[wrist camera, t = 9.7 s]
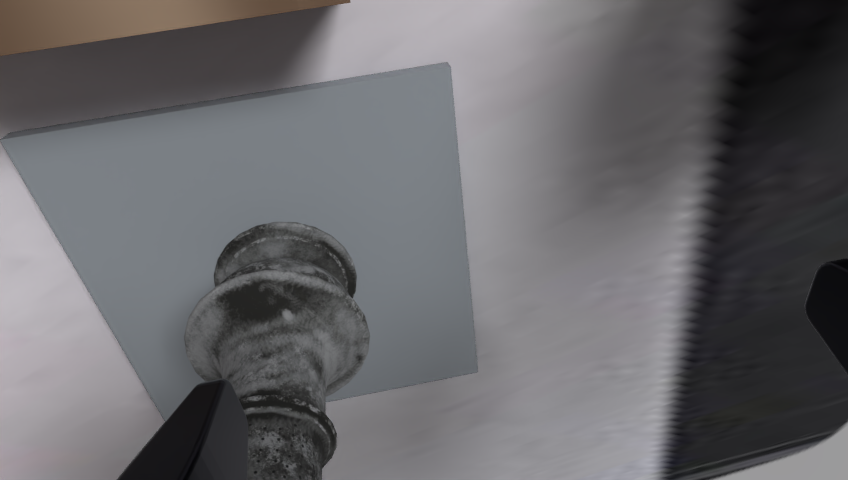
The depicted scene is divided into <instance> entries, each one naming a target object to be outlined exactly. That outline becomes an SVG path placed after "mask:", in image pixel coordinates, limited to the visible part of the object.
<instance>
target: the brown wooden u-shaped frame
mask: <svg viewBox="0 0 848 480" xmlns="http://www.w3.org/2000/svg"><path fill="white" fill-rule="evenodd" d="M344 3H350V0H0V56H3V55H10V54H16V53H23V52H30V51H36V50H43V49H49V48H56V47H62V46H69V45H75V44H82V43H88V42H95V41H102V40H108V39H115V38H121V37H128V36H134V35H141V34H147V33H154V32H161V31H167V30H174V29H180V28H187V27H193V26H200V25H206V24H213V23H219V22H226V21H233V20H239V19H246V18H252V17H259V16H265V15H272V14H278V13H285V12H291V11H298V10H305V9H311V8H318V7H324V6H331V5H337V4H344Z"/></svg>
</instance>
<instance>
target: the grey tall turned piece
mask: <svg viewBox="0 0 848 480" xmlns="http://www.w3.org/2000/svg"><path fill="white" fill-rule="evenodd" d="M214 281H215V288H214V289H212V290H211V291H210V292H209V293H207V294H206V295H205V296H204V297H203V298H201V299H200V300H199V302H198V303H197V305H196V306H195V308H194V310H193V311H192V313H191V314H190V316H189V318H188V321H187V326H186V330H185V335H184V341H185V348H186V354H187V357H188V359H189V361H190V362H191V364H192V366H193V368H194V370H195V372H196V373H197V374H198V375H199V376H200V377H201V378H202V379H203V380H204V381H205V382H207V381H212V380H217V379H227V380H229V381H230V383H231V384H232V386H233V388H234V390H235V392H236V395H237V397H238V399H239V401H240V403H241V406H242V408H243V410H244V412H245V415H246V418H247V423H248V467H247V480H322V468H323V467H324V466H325V465H326V464H327V462H328V461H329V460H330V459H331V458H332V456H333V453H334V451H335V449H336V437H337V433H336V431H335V428H334V426H333V423H332V422H331V420H330V419H329V418H328V417H327V416H326V415H325V402H326V397H327V396H329V395H331V394H333V393H335V392H336V391H338V390H339V389H340V388H342V387H343V386H345V385H346V384H348V383H349V382H350V381H351V380H352V379H353V377H354V376H355V375H356V374H357V373H358V372H359V370H360V369H361V368H362V366H363V364H364V361H365V359H366V357H367V355H368V352H369V340H370V332H369V329H368V325H367V321H366V318H365V315H364V314H363V312H362V311H361V309H360V308H359V306H358V305H357V303H356V302H355V300H354V299H353V297H354V294H355V292H356V281H357V274H356V270H355V266H354V263H353V260H352V258H351V256H350V255H349V253H348V252H347V250H346V249H345V247H344V246H343V245H342V244H341V243H339V242H338V241H337V240H336V239H335V238H334V237H333V236H332V235H330V234H328V233H326V232H324V231H322V230H320V229H318V228H316V227H313V226H309V225H305V224H301V223H298V222H272V223H267V224H262V225H257V226H255V227H253V228H251V229H248V230H246V231H244V232H242V233H240V234H239V235H238V236H236V237H235V238H234V239H233V240H232V241H231V242H229V243H228V244H227V245H226V247H225V248H224V250H223V251H222V253H221V255H220V256H219V258H218V260H217V264H216V268H215V273H214Z"/></svg>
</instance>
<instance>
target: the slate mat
mask: <svg viewBox="0 0 848 480" xmlns="http://www.w3.org/2000/svg"><path fill="white" fill-rule="evenodd" d="M0 141H1V143H2V145H3V147H4V148H5V150H6V152H7V153H8V155H9V157H10V158H11V160H12V162H13V164H14V165H15V167H16V169H17V170H18V172H19V174H20V175H21V177H22V179H23V181H24V182H25V184H26V186H27V187H28V189H29V191H30V192H31V194H32V196H33V198H34V199H35V201H36V203H37V204H38V206H39V208H40V209H41V211H42V213H43V215H44V216H45V218H46V220H47V221H48V223H49V225H50V227H51V228H52V230H53V232H54V233H55V235H56V237H57V238H58V240H59V242H60V244H61V245H62V247H63V249H64V250H65V252H66V254H67V255H68V257H69V259H70V261H71V262H72V264H73V266H74V267H75V269H76V271H77V272H78V274H79V276H80V278H81V279H82V281H83V283H84V284H85V286H86V288H87V289H88V291H89V293H90V295H91V296H92V298H93V300H94V301H95V303H96V305H97V306H98V308H99V310H100V312H101V313H102V315H103V317H104V318H105V320H106V322H107V323H108V325H109V327H110V329H111V330H112V332H113V334H114V335H115V337H116V339H117V340H118V342H119V344H120V346H121V347H122V349H123V351H124V352H125V354H126V356H127V358H128V359H129V361H130V363H131V364H132V366H133V368H134V369H135V371H136V373H137V375H138V376H139V378H140V380H141V381H142V383H143V385H144V386H145V388H146V390H147V392H148V393H149V395H150V397H151V398H152V400H153V402H154V403H155V405H156V407H157V409H158V410H159V412H160V414H161V415H162V417H163V419H164V420H165V421H166V420H167V419H168V418H169V417H170V415H171V414H172V413H173V412H174V411H175V410H176V408H177V407H178V406H179V405H180V404H181V402H182V401H183V400H184V399H185V398H186V396H187V395H188V394H189V393H190V392H191V390H192V389H193V388H194V387H195V386H196V385H198V384H199V383H202V382H205V381H204V380H203V379H202V378H201V377H200V376H199V375H198V374H197V373H196V372H195V370H194V368H193V366H192V364H191V362H190V361H189V359H188V357H187V354H186V348H185V341H184V335H185V330H186V326H187V321H188V318H189V316H190V314H191V313H192V311H193V310H194V308H195V306H196V305H197V303H198V302H199V300H200V299H201V298H203V297H204V296H205V295H206V294H207V293H209V292H210V291H211V290H212V289H214V288H215V281H214V273H215V268H216V264H217V260H218V258H219V256H220V255H221V253H222V251H223V250H224V248H225V247H226V245H227V244H228V243H229V242H231V241H232V240H233V239H234V238H235V237H236V236H238V235H239V234H240V233H242V232H244V231H246V230H248V229H251V228H253V227H255V226H257V225H262V224H267V223H272V222H298V223H301V224H305V225H309V226H313V227H316V228H318V229H320V230H322V231H324V232H326V233H328V234H330V235H332V236H333V237H334V238H335V239H336V240H337V241H338V242H339V243H341V244H342V245H343V246H344V247H345V249H346V250H347V252H348V253H349V255H350V256H351V258H352V260H353V263H354V266H355V270H356V274H357V281H356V292H355V294H354V297H353V299H354V300H355V302H356V303H357V305H358V306H359V308H360V309H361V311H362V312H363V314H364V315H365V318H366V321H367V325H368V329H369V332H370V340H369V352H368V355H367V357H366V359H365V361H364V364H363V366H362V368H361V369H360V370H359V372H358V373H357V374H356V375H355V376H354V377H353V379H352V380H351V381H350V382H349V383H348V384H346V385H345V386H343V387H342V388H340V389H339V390H338V391H336V392H335V393H333V394H331V395H329V396H327V397H326V402H330V401H335V400H340V399H345V398H350V397H356V396H361V395H366V394H371V393H376V392H381V391H386V390H391V389H396V388H401V387H406V386H411V385H416V384H421V383H426V382H431V381H436V380H442V379H447V378H452V377H457V376H462V375H467V374H472V373H477V372H478V366H477V355H476V344H475V332H474V321H473V310H472V299H471V288H470V277H469V266H468V254H467V243H466V232H465V221H464V210H463V199H462V188H461V176H460V165H459V154H458V143H457V132H456V121H455V109H454V98H453V87H452V76H451V67H450V65H449V64H448V63H447V62H446V63H440V64H433V65H427V66H421V67H415V68H409V69H402V70H396V71H390V72H384V73H378V74H371V75H365V76H359V77H353V78H347V79H340V80H334V81H328V82H322V83H316V84H309V85H303V86H297V87H291V88H285V89H278V90H272V91H266V92H260V93H254V94H247V95H241V96H235V97H229V98H223V99H216V100H210V101H204V102H198V103H192V104H185V105H179V106H173V107H167V108H161V109H154V110H148V111H142V112H136V113H130V114H123V115H117V116H111V117H105V118H99V119H92V120H86V121H80V122H74V123H68V124H61V125H55V126H49V127H43V128H37V129H30V130H24V131H18V132H12V133H9V134H7V135H6V136H4V137H3V138H2V139H0Z"/></svg>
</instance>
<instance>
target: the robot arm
mask: <svg viewBox="0 0 848 480" xmlns="http://www.w3.org/2000/svg"><path fill="white" fill-rule="evenodd" d="M805 312H806V315H807V318H808V319H809V321H810V323H811V324H812V325H813V327H814V328H815V330H816V331H817V332H818V334H819V335H820V337H821V338H822V340H823V341H824V342H825V344H826V345H827V347H828V348H829V349H830V351H831V352H832V354H833V355H834V357H835V358H836V359H837V361H838V362H839V364H840V365H841V366H842V368H843V369H844V371H845V372H846V374H847V375H848V259H841V260H836V261H831V262H826V263H824V264H822V265H821V266H820V267H819V268H818V269H817V271H816V274H815V276H814V279H813V282H812V285H811V288H810V291H809V293H808V296H807V299H806V302H805ZM247 467H248V423H247V418H246V415H245V412H244V410H243V408H242V406H241V403H240V401H239V399H238V397H237V395H236V392H235V390H234V388H233V386H232V384H231V383H230V381H229V380H227V379H217V380H212V381H207V382H202V383H199V384H198V385H196V386H195V387H194V388H193V389H192V390H191V392H190V393H189V394H188V395H187V396H186V398H185V399H184V400H183V401H182V402H181V404H180V405H179V406H178V407H177V408H176V410H175V411H174V412H173V413H172V414H171V415H170V417H169V418H168V419H167V420H166V421H165V423H164V424H163V425H162V426H161V427H160V429H159V430H158V431H157V432H156V433H155V435H154V436H153V437H152V438H151V439H150V441H149V442H148V443H147V444H146V445H145V446H144V448H143V449H142V450H141V451H140V452H139V454H138V455H137V456H136V457H135V458H134V460H133V461H132V462H131V463H130V464H129V466H128V467H127V468H126V469H125V470H124V471H123V473H122V474H121V475H120V476H119V477H118V479H117V480H247Z"/></svg>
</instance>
